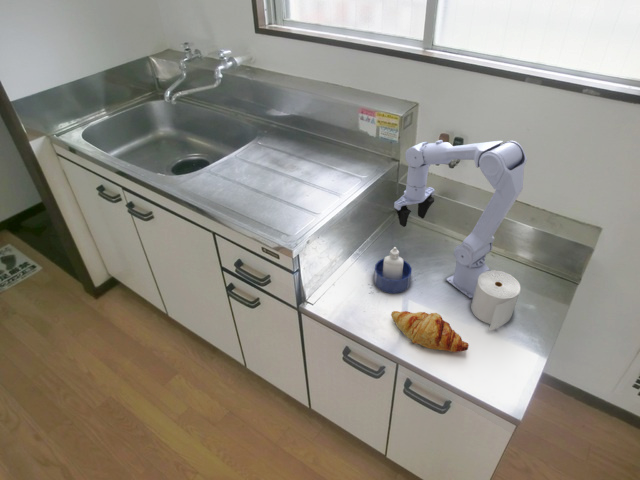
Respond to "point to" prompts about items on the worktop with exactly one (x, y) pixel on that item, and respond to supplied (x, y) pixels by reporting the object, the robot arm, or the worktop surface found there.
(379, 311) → the worktop surface
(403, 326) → the croissant
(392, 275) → the eye dropper bottle
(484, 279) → the toilet tissue
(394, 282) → the blue bowl
